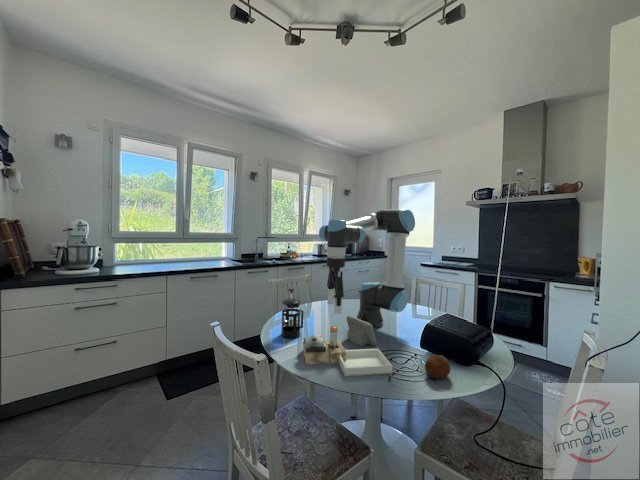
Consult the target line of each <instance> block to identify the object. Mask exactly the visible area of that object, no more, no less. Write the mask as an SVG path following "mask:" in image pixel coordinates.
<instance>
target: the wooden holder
mask: <svg viewBox="0 0 640 480" xmlns="http://www.w3.org/2000/svg"><path fill="white" fill-rule="evenodd" d="M302 343H303V344H302V352H303V356H304V363H305V365H321V364H339V355H341V357H342V358H343V360H344V361H346V351H345V350H346V349H345V347H344V346H343V344H342V343H341V341H340V339H337V348H333V349H330V339H327V340H326V339H324V338H323V337H321V336H319V335H309V336H307V337H303V341H302Z"/></svg>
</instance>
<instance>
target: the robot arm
mask: <svg viewBox="0 0 640 480" xmlns="http://www.w3.org/2000/svg"><path fill="white" fill-rule="evenodd" d="M415 227H416V218H415V215H414V212H412V211H411V209H408V208H395V209H393V208H392V209H380V210H378V211H377V210H376V211H374V212H370V213H367V214H366V215H364V216H363V217H359V218H354V219H351V220H344V219H329V221H328V223H327V225H325V224H324V225H322V226H321V227H320V228H319V231H318V236H319V238H320V239H321V240H322V241H324V242H327V243H326V244H327V245H326V248H325V251H326V256H327V257H326V267H328V277H327V282H326V283H327V284H326V286H327V305H333V307H334V308H333V310H334V311H333V314H334V315H341V314H342V308H343V306H342V303H343V298H344V297H345V294H344V283H343V271H341V269H343V268H345V266H346V259H345V257H346V244H357V243H362V242H363V241H364V240H365V238H366V232H367V231H369V232H373V231H385V232H386V234H387V235H388V237H389V238H388V248H387V249H388V250H387V259H386V271H385V281H384V282H377V281H369V282H363V283H361V285H360V290H359V309H358V312H357V316H356V317H355V318H357V319H360V320H362V321H365V322H367V323H370V324H371V325H372V327H373V329H374V328H381V327H382V326H383V325H384V318H383V315H382V312H381V309H383V310H387V311H390V312H394V313H402V312H403V311H404V310H405V309H406V307H407V304H408V303H409V293H408V291H406V290H405V288H406V287H405V285H404V284H403V277H404V276H403V275H404V268H405V267H404V265H405V264H404V263H405V253H406V242H407V238H408V237H409V236H410V232H412V231H414V229H415Z"/></svg>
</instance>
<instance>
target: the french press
mask: <svg viewBox="0 0 640 480" xmlns="http://www.w3.org/2000/svg"><path fill="white" fill-rule="evenodd" d="M287 291H288V292H290V294H291V295H290V298H288V299H284V300H282V301H281V302H282V304H283V305H285V306H286V307H287V308H285V309H282V310H281V334H280V336H281V338H282V339H286V340H295V339H298V338H300V337H301V331H300V330H301V329H303V328H304V309H298V308H299V307H300V304H301V300H299V299H297V298H296V299H295V298H293V292H295V291H297V289H296V288H288V289H287ZM292 312H296V313H292ZM290 318H292V319H290Z"/></svg>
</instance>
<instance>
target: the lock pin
mask: <svg viewBox="0 0 640 480" xmlns="http://www.w3.org/2000/svg"><path fill="white" fill-rule="evenodd" d="M329 340H330V349H333V348H337V340H338V326H336V325H331V326H330V327H329Z"/></svg>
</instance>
